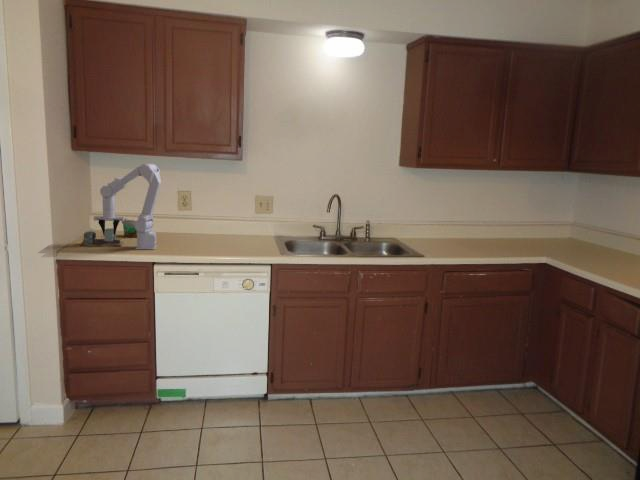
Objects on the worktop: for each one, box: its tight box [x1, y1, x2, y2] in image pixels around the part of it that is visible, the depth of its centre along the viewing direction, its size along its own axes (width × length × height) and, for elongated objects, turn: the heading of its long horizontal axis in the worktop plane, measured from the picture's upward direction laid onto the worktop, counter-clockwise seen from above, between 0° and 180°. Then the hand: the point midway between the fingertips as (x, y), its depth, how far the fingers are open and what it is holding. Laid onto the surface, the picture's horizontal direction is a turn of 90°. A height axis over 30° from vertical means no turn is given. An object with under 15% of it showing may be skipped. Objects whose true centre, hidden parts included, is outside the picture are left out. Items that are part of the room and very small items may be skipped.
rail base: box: [79, 230, 125, 248], centre depth 258 cm, size 20×8×6 cm, turn 102°
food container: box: [121, 217, 137, 239], centre depth 280 cm, size 12×6×10 cm, turn 62°
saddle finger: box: [103, 227, 116, 241], centre depth 258 cm, size 4×6×6 cm
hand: (109, 234), depth 258 cm, fingers closed on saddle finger, 4 cm apart
